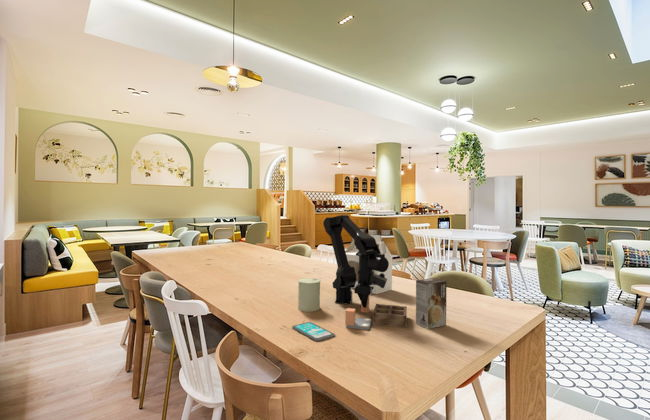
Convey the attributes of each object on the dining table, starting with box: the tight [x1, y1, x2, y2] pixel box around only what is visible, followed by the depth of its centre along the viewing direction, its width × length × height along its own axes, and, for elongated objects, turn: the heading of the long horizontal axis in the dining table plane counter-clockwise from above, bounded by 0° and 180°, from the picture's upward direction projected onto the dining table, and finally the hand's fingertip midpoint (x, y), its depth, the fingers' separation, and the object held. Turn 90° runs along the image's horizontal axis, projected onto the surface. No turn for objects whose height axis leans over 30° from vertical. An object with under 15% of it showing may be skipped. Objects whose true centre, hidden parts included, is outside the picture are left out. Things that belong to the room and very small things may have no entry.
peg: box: [360, 294, 371, 314], centre depth 133 cm, size 3×3×8 cm
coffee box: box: [415, 277, 447, 330], centre depth 119 cm, size 9×6×16 cm
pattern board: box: [344, 307, 373, 331], centre depth 118 cm, size 8×8×6 cm
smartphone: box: [292, 321, 336, 343], centre depth 111 cm, size 9×1×15 cm
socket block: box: [372, 303, 408, 328], centre depth 123 cm, size 12×12×4 cm
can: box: [297, 277, 321, 313], centre depth 136 cm, size 9×9×12 cm
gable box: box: [345, 234, 393, 295], centre depth 171 cm, size 22×13×28 cm, turn 43°
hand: (365, 306), depth 133 cm, fingers open, 3 cm apart
